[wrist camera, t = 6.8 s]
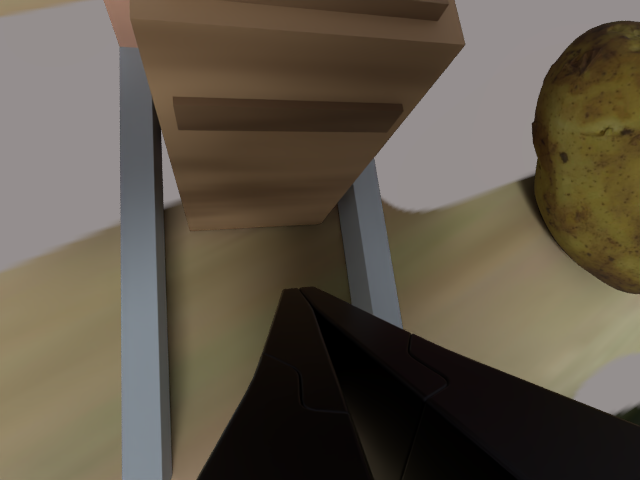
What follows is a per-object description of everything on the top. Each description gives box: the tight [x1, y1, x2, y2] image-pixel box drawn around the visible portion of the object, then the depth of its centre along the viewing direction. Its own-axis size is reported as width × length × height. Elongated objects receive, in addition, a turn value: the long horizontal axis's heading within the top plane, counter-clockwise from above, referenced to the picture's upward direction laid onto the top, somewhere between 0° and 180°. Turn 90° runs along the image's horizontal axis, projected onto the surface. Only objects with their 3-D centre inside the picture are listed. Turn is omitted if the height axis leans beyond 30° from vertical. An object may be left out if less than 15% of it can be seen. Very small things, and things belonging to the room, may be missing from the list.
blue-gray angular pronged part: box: [104, 0, 403, 480], centre depth 15 cm, size 18×11×7 cm, turn 7°
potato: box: [532, 21, 640, 294], centre depth 20 cm, size 8×13×8 cm, turn 3°
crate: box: [130, 0, 465, 231], centre depth 13 cm, size 7×6×12 cm
